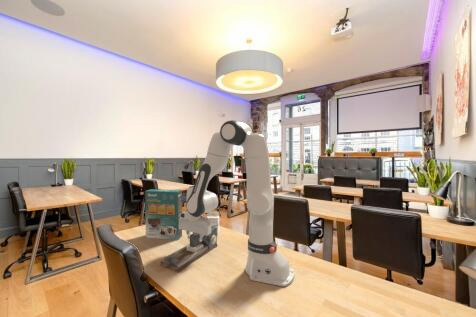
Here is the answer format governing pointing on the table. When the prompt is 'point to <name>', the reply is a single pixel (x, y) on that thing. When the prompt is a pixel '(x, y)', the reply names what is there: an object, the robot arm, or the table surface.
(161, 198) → the cake mix box
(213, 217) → the ink cartridge box
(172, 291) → the table surface
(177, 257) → the track
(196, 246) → the carriage
